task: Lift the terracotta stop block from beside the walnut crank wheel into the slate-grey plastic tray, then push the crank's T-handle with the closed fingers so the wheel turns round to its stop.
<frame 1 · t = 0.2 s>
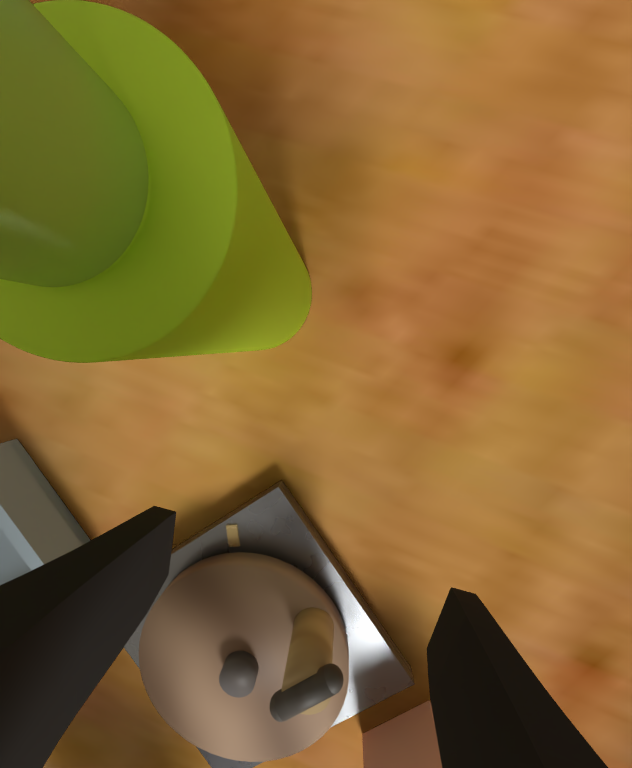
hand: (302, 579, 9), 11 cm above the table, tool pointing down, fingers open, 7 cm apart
crank base: (253, 629, 21), on the table
soap dispenser: (261, 303, 19), on the table
stop block: (416, 747, 21), on the table
crank: (233, 692, 17), point 4 cm above the table, hinge at 0.0°
tray: (6, 546, 22), on the table
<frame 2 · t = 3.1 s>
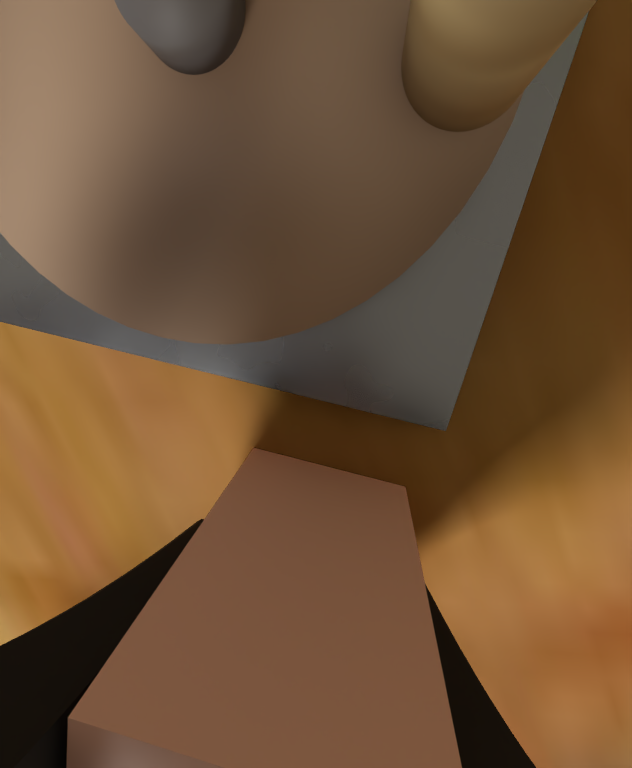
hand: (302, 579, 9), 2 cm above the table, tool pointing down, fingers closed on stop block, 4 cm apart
crank base: (241, 88, 8), on the table
stop block: (312, 531, 11), on the table, touching gripper
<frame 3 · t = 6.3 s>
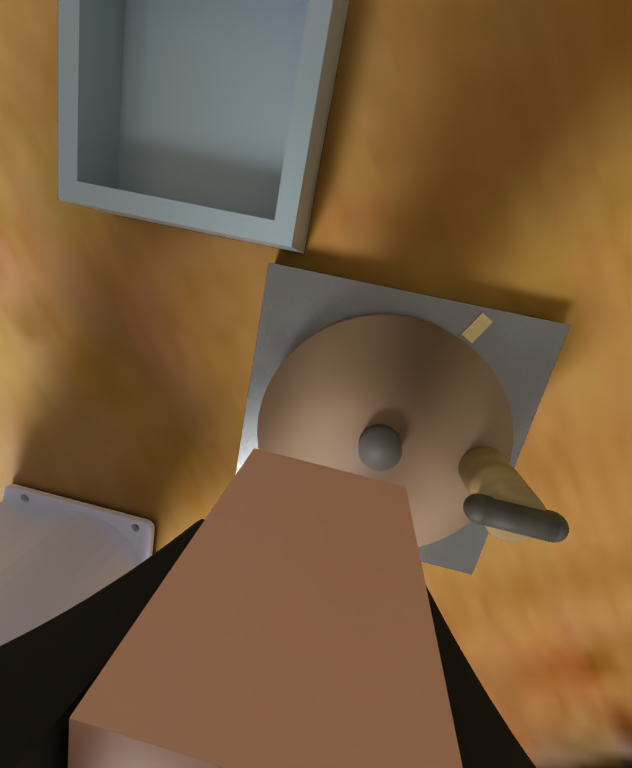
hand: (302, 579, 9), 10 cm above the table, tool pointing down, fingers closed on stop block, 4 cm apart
crank base: (377, 423, 18), on the table
stop block: (312, 531, 11), point 8 cm above the table, touching gripper
crank: (380, 457, 15), point 4 cm above the table, hinge at 0.0°
tray: (216, 115, 16), on the table
when the fingers open (4 cm above the table, at t = 9.4 s): stop block drops 1 cm, resting on tray.
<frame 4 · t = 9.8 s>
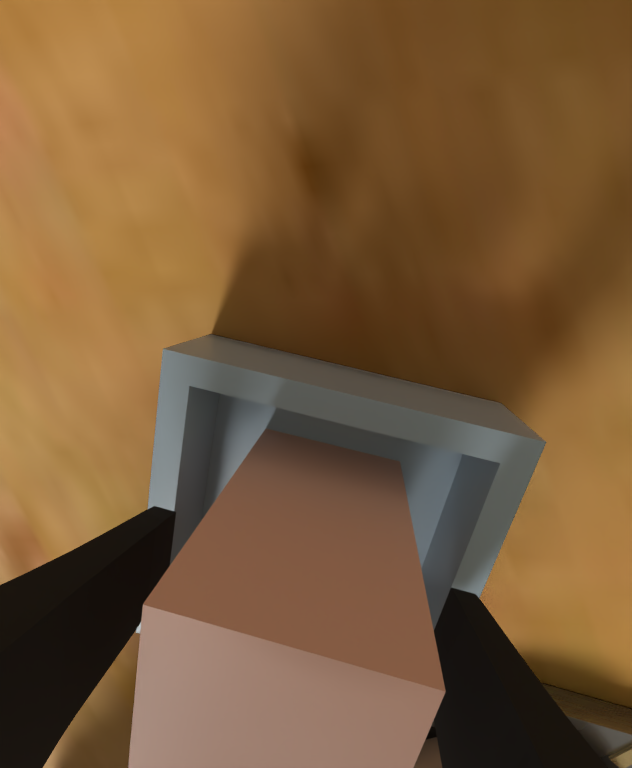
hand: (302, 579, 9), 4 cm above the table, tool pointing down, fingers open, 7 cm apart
stop block: (318, 503, 13), point 1 cm above the table, touching tray
tray: (320, 494, 13), on the table
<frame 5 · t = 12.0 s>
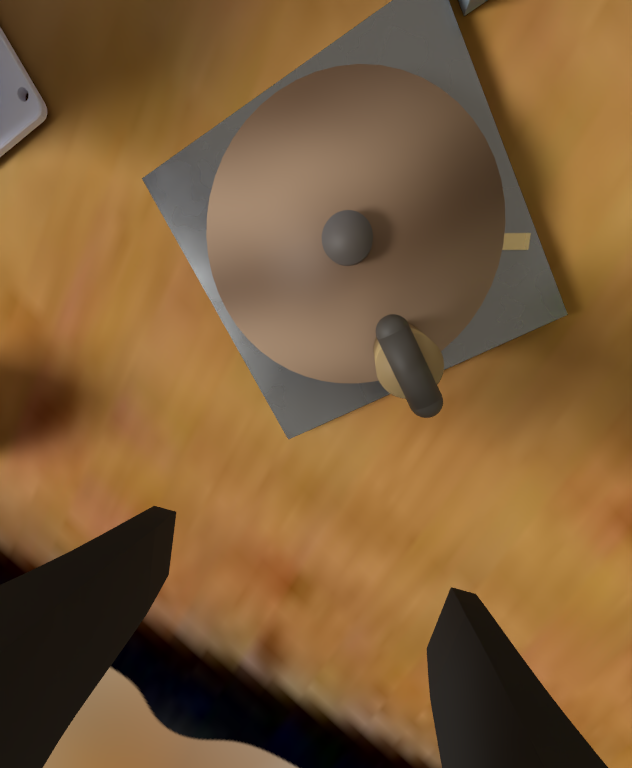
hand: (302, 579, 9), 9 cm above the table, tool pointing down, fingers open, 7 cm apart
crank base: (350, 247, 16), on the table
crank: (346, 235, 12), point 4 cm above the table, hinge at 0.0°
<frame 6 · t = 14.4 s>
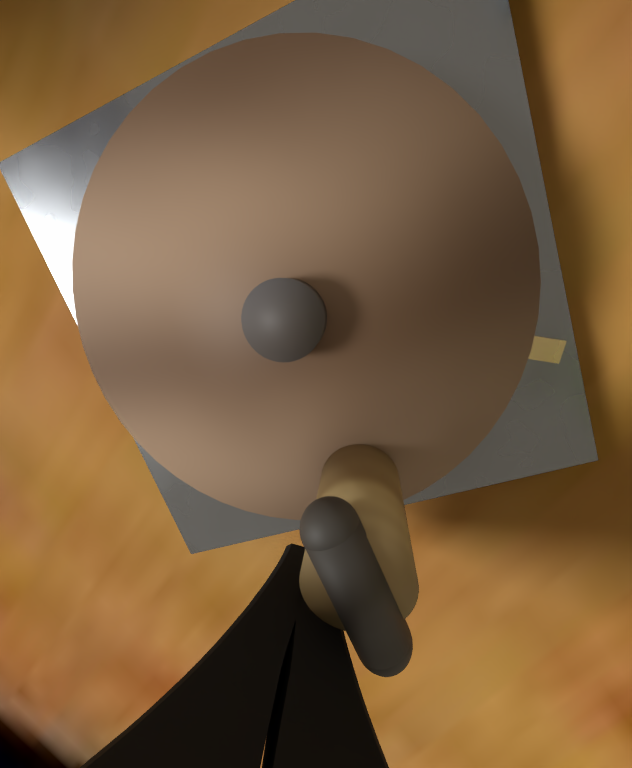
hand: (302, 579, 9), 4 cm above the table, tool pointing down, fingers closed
crank base: (305, 310, 11), on the table
crank: (275, 324, 7), point 4 cm above the table, hinge at 3.8°, touching gripper
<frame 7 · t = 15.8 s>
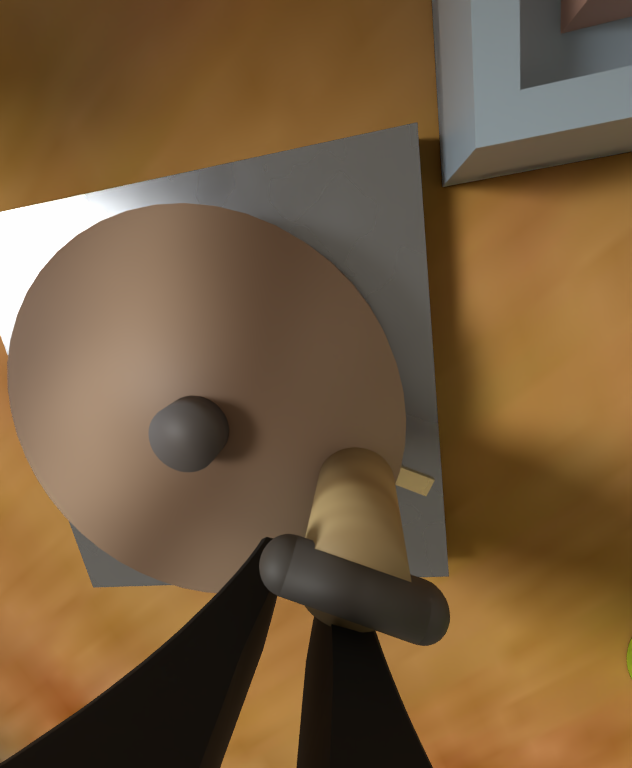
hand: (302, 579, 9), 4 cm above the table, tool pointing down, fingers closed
crank base: (228, 398, 12), on the table
crank: (170, 450, 9), point 4 cm above the table, hinge at 64.1°, touching gripper
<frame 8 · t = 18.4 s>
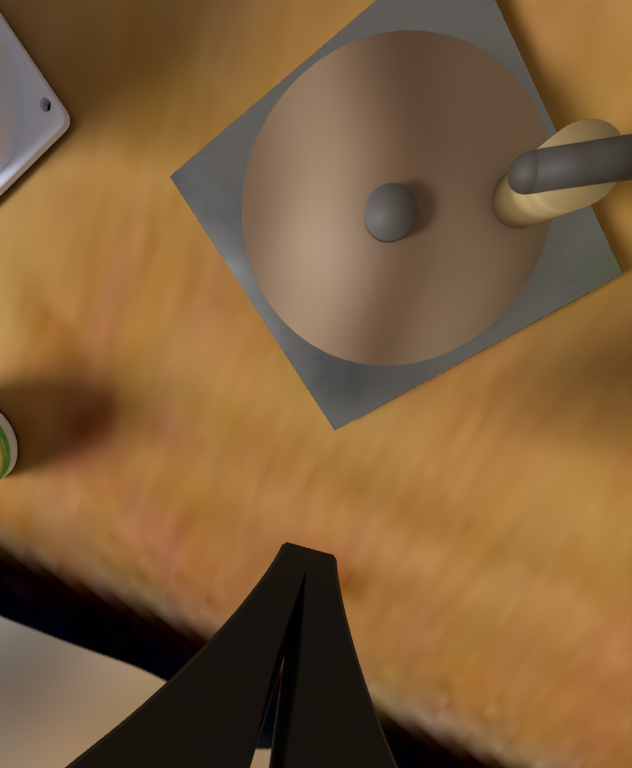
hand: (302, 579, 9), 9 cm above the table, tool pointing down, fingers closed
crank base: (385, 226, 16), on the table
crank: (392, 208, 12), point 4 cm above the table, hinge at 63.7°
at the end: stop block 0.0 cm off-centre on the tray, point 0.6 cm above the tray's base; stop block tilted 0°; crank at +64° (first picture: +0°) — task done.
